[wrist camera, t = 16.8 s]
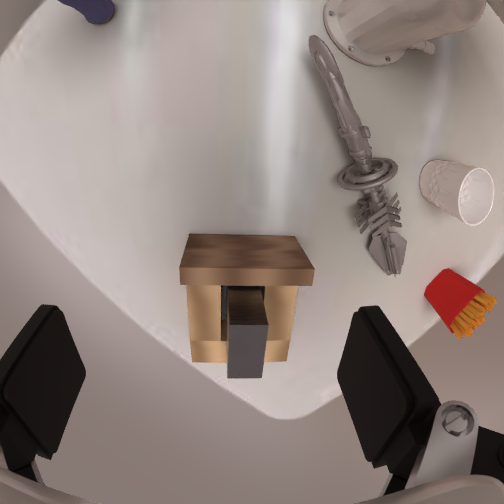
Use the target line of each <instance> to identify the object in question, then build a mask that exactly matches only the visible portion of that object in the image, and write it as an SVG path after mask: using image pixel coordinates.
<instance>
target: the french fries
mask: <svg viewBox="0 0 504 504" xmlns="http://www.w3.org/2000/svg"><path fill="white" fill-rule="evenodd" d="M424 295H425V297H426V298H427V300H428V301H429V302H430V304H431V305H432V306H433V308H434V309H435V310H436V312H437V313H438V315H439V316H440V317H441V319H442V320H443V321H444V323H445V324H446V326H447V327H448V329H449V330H450V331H451V333H455V334H456V336H457V337H458V339H459V340H460V339H462V335H463V334H464V335H466V336H467V337H469V336H470V335H472V333H473V332H474V331H473V330H472V329H471V327H472V328H473V329H474V330H475V329H476V328H477V326H476V325H478V326H479V325H481V323H483V322H484V321H485V318H483V317H484V316H483V314H484V313H485V312H486V311H485V309H486V310H487V311H488V312H491V311H492V307H493V305H494V304H496V302H497V301H496V300H495V299H496V298H495V297H493V296H491V295H488V294H486V293H485V291H484V290H483V289H481V288H480V287H478V286H477V285H475V284H474V283H472V282H470V281H469V280H467V279H466V278H464V277H462V276H461V275H459V274H457V273H456V272H454V271H452V270H450V269H445V270H442V271H441V272H440V273H439V274H438V275H437V276H436V277H435V278H434V280H433V281H432V282H431V283H430V284H429V285H428V286H427V288H426V290H425V293H424Z"/></svg>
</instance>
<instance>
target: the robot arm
mask: <svg viewBox="0 0 504 504" xmlns="http://www.w3.org/2000/svg"><path fill="white" fill-rule="evenodd" d="M486 1H487V2H488V4H489V5H490V6H491V7H492V9H493V10H494V12H495V13H496V14H497V16H498V17H499V18H500V19H501V21H502V22H503V24H504V0H328V1H327V3H326V5H325V8H324V22H325V26H326V29H327V32H328V33H329V35H330V37H331V39H332V40H333V41H334V43H335V44H336V45H337V46H338V47H339V48H340V49H341V50H342V51H343V52H344V53H345V54H347V55H348V56H349V57H351V58H352V59H354V60H356V61H358V62H361V63H363V64H366V65H372V66H384V65H388V64H391V63H394V62H396V61H397V60H399V59H400V58H401V57H402V56H403V55H404V53H405V51H406V49H407V48H410V49H415V48H417V49H419V50H421V51H423V52H425V53H428V54H430V55H432V54H433V53H434V52H435V45H434V44H433V43H431V42H429V41H426V40H429V39H433V38H436V37H440V36H443V35H447V34H451V33H455V32H459V31H463V30H466V29H469V28H471V27H472V26H474V25H475V24H476V23H477V22H478V21H479V20H480V18H481V16H482V14H483V12H484V9H485V6H486ZM330 15H331V16H330ZM348 49H350V51H349V50H348ZM85 376H86V370H85V367H84V365H83V362H82V360H81V358H80V355H79V353H78V350H77V348H76V346H75V343H74V341H73V338H72V336H71V333H70V330H69V328H68V325H67V322H66V320H65V316H64V314H63V312H62V311H61V310H60V309H59V308H58V307H57V306H55V305H44V304H43V305H41V306H40V307H39V308H38V309H37V310H36V312H35V313H34V314H33V315H32V317H31V318H30V319H29V321H28V322H27V323H26V325H25V326H24V327H23V329H22V330H21V331H20V333H19V334H18V335H17V337H16V338H15V339H14V341H13V342H12V344H11V345H10V347H9V348H8V349H7V351H6V352H5V354H4V355H3V357H2V358H1V360H0V504H102V503H98V502H94V501H90V500H86V499H83V498H80V497H76V496H73V495H70V494H67V493H64V492H61V491H58V490H55V489H53V488H50V487H47V486H45V484H44V482H43V479H42V477H41V474H40V472H39V469H38V467H37V464H36V461H35V455H36V454H38V456H41V457H44V458H46V459H49V460H51V458H52V455H53V453H56V452H57V450H58V447H59V444H60V441H61V438H62V435H63V433H64V430H65V427H66V425H67V422H68V419H69V417H70V414H71V411H72V409H73V406H74V404H75V401H76V399H77V396H78V394H79V391H80V389H81V387H82V384H83V382H84V379H85ZM337 378H338V382H339V385H340V387H341V390H342V393H343V396H344V398H345V401H346V404H347V407H348V410H349V412H350V415H351V418H352V420H353V424H354V426H355V429H356V432H357V435H358V438H359V441H360V444H361V446H362V450H363V452H364V455H365V458H366V460H367V461H368V462H372V465H373V467H374V468H378V467H381V466H385V465H387V467H388V470H389V472H390V474H389V476H388V478H387V480H386V482H385V485H384V487H383V489H382V491H381V493H380V495H379V497H378V498H375V499H371V500H368V501H364V502H360V503H355V504H504V434H500V433H498V432H495V431H492V430H489V429H486V428H483V427H480V426H479V424H478V418H477V415H476V413H475V411H474V410H473V409H472V408H471V407H470V406H469V405H467V404H466V403H463V402H461V401H448V402H445V403H443V404H442V405H441V403H440V401H439V398H438V396H437V395H436V393H435V391H434V390H433V388H432V386H431V385H430V383H429V382H428V380H427V378H426V377H425V375H424V373H423V372H422V370H421V369H420V367H419V366H418V364H417V362H416V361H415V359H414V358H413V356H412V355H411V353H410V352H409V350H408V348H407V347H406V345H405V344H404V342H403V341H402V339H401V338H400V336H399V335H398V333H397V332H396V330H395V329H394V327H393V326H392V324H391V323H390V322H389V320H388V319H387V317H386V316H385V314H384V313H383V311H382V310H381V309H380V307H379V306H364V307H360V308H359V310H358V312H354V314H353V317H352V321H351V325H350V329H349V333H348V336H347V340H346V344H345V347H344V351H343V354H342V358H341V361H340V364H339V368H338V371H337Z"/></svg>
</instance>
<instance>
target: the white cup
mask: <svg viewBox="0 0 504 504" xmlns="http://www.w3.org/2000/svg"><path fill="white" fill-rule="evenodd" d="M420 189H421V192H422V195H423V196H424V197H425V198H426V199H427V200H428V201H430V202H431V203H433V204H435V205H436V206H438V207H439V208H441V209H443V210H444V211H446V212H447V213H449V214H451V215H452V216H454V217H456V218H458V219H459V220H461V221H462V222H464V223H466V224H467V225H470V226H476V225H478V224H480V223H482V222H483V221H484V220H485V219H486V217H487V216H488V214H489V213H490V211H491V208H492V205H493V201H494V183H493V180H492V177H491V175H490V174H489V172H488V171H487V170H485V169H484V168H481V167H476V166H472V165H467V164H462V163H456V162H450V161H441V160H433V161H430V162H428V163H427V164H426V165H425V166H424V168H423V170H422V172H421V175H420Z"/></svg>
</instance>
